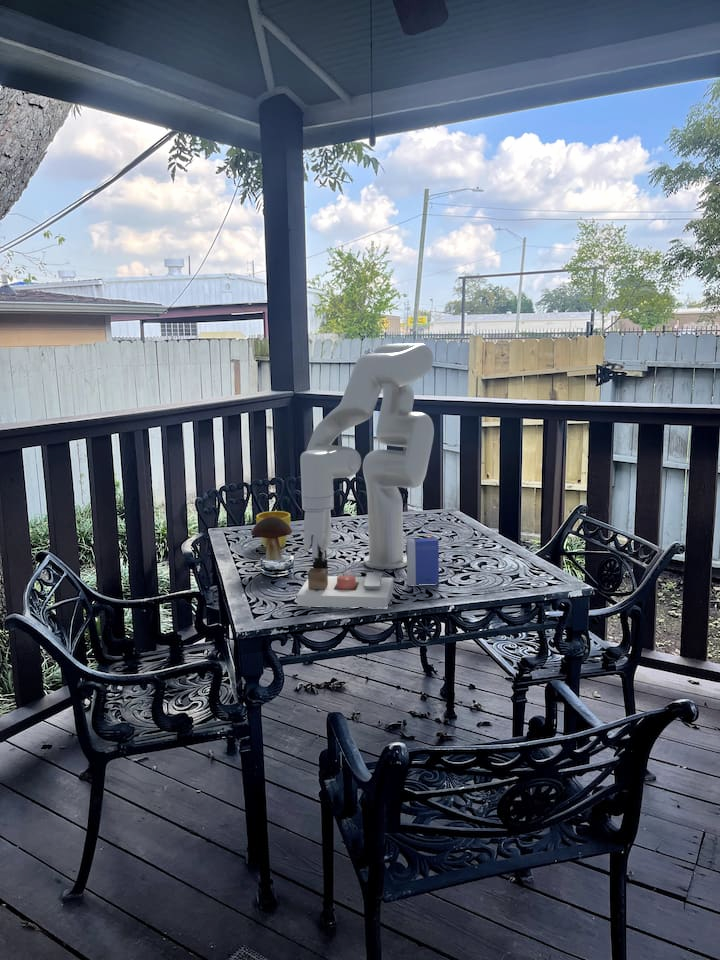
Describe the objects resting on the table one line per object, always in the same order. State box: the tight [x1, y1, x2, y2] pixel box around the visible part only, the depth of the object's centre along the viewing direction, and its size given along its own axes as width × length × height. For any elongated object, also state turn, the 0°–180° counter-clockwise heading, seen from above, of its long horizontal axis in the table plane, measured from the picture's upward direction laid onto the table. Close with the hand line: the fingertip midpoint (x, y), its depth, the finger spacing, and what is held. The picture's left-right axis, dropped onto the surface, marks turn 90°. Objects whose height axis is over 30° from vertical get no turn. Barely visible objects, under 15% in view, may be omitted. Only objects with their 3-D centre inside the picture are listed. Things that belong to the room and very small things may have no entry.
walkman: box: [405, 535, 440, 585], centre depth 163 cm, size 8×3×12 cm, turn 96°
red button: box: [337, 574, 356, 590], centre depth 156 cm, size 4×4×3 cm
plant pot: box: [255, 510, 291, 549], centre depth 200 cm, size 10×10×10 cm
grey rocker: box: [364, 571, 383, 589], centre depth 155 cm, size 6×4×1 cm, turn 171°
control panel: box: [296, 575, 394, 608], centre depth 156 cm, size 13×21×4 cm, turn 81°
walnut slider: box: [307, 567, 329, 589], centre depth 155 cm, size 3×4×4 cm
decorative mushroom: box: [251, 516, 293, 561], centre depth 177 cm, size 11×11×15 cm
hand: (320, 575), depth 159 cm, fingers closed
